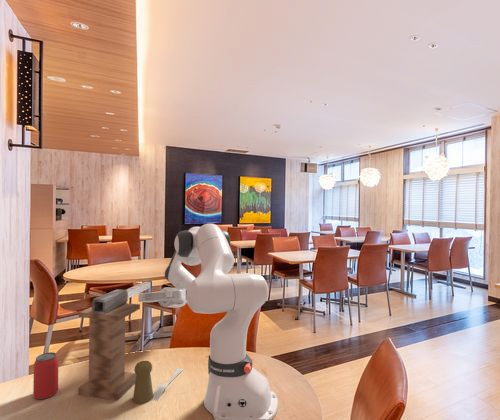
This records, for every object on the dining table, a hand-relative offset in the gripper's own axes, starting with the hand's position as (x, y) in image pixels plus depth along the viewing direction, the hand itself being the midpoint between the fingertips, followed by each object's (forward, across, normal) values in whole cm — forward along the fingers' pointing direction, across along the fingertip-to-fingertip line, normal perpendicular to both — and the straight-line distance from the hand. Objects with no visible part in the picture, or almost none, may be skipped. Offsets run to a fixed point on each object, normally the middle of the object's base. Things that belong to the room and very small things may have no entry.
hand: (153, 295), depth 132 cm
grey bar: (+16, 0, +1) cm, 16 cm away
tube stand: (+20, -4, +30) cm, 37 cm away
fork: (+14, +14, +31) cm, 37 cm away
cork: (+23, +10, +33) cm, 42 cm away
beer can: (+28, -21, +31) cm, 46 cm away
